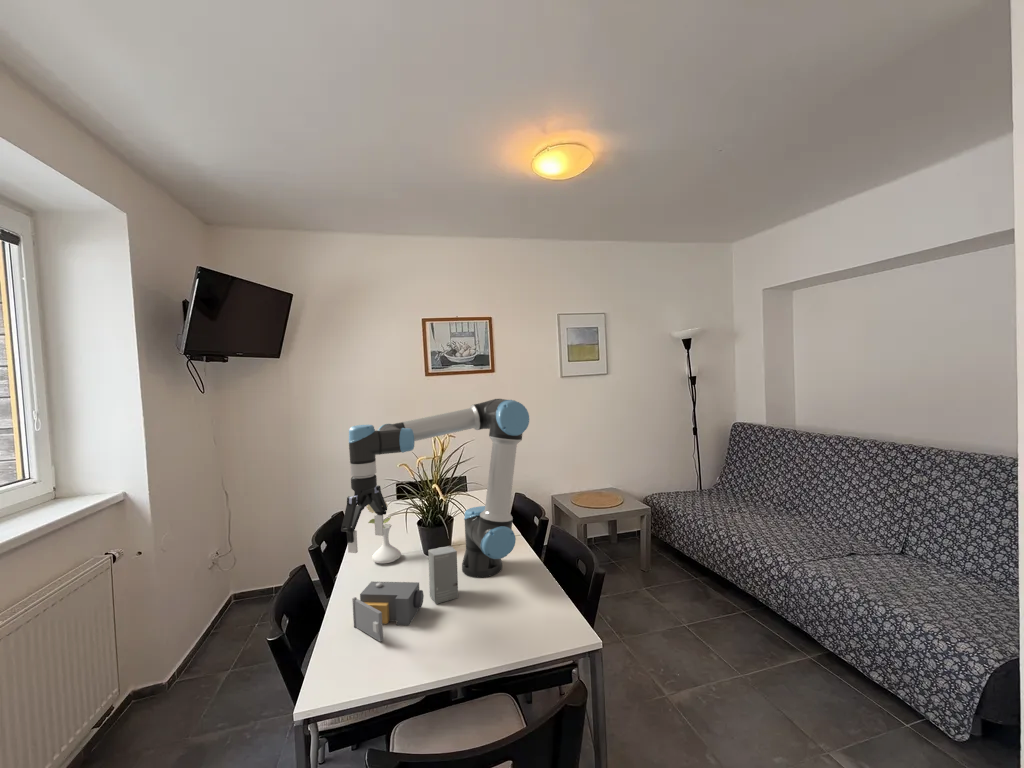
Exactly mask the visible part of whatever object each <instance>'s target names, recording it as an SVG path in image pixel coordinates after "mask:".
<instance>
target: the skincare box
mask: <svg viewBox="0 0 1024 768" xmlns="http://www.w3.org/2000/svg"><path fill="white" fill-rule="evenodd" d="M427 551H428V577H429V579H428V580H429V581H428V582H429V583H428V584H429V585H428V586H429V597H430V598H431V599H432V602H433V603H434V604H435V605H438V604H441V603H444V602H448V601H451V600H455V599H458V598H459V585H458V584H459V581H458V580H459V579H458V578H459V577H458V553H457V552H458V551H457V550H456V549H455V548H454V547H453V546H452V545H447V546H441V547H440V546H439V547H437V548H431V549H428V550H427Z"/></svg>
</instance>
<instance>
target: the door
mask: <svg viewBox="0 0 1024 768" xmlns="http://www.w3.org/2000/svg"><path fill="white" fill-rule="evenodd" d="M355 616H356V627H357V629H358V630H360V631H362V632H363V633H365V634H367V635H368V636H370V637H372V638H373V639H375V640H376V641H378V642H381V641H383V640H384V632H383V630H384V629H383V624H382V612H381V611H379V610H377V609H375V608H373V607H371V606H370V605H368V604H366V603H364V602H362V601H360V599H358V598H357V600H355Z"/></svg>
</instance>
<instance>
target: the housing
mask: <svg viewBox="0 0 1024 768" xmlns="http://www.w3.org/2000/svg"><path fill="white" fill-rule="evenodd" d="M424 596H425V595H424V591H423V590H422V589H420V582H416V581H414V582H413V581H411V582H410V581H406V582H405V581H370V582H369V583H368V585H367V586H366V587H365V588H364V589H363V590H362V591H361V592H360V593H359V600H360V601H362V602H364V603H366V604H368V605H370V606H371V607H373V608H375V609H377V610H379V611H381V612H382V625H388V624H389V622H391V621H392V622H396V626H410V625H411V624H412V623H413V620H414V618H415V617H416V615H417V613H418V612H419V610H420V609H421V608H422V607H423V603H424ZM357 599H358V598H357V597H355V596H353V597H352V598H351V600H352V601H351V602H352V615H353V617H352V618H353V628H355V629H356V628H357V627H356V616H355V600H357ZM357 629H358V628H357Z"/></svg>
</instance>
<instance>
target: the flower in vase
mask: <svg viewBox="0 0 1024 768" xmlns="http://www.w3.org/2000/svg"><path fill="white" fill-rule="evenodd" d="M384 501H385V499H384ZM385 503H386V506H387V508H388V507H389V506H388V503H387V501H385ZM382 507H383V506H382ZM365 508H366V509H367V510H368V512H370V513H371V514H375V512H374V510H373V509H372V508H371V506H370V505H367V506H366V507H365ZM391 517H392V516H389V517H387V518H385V519H383V529H384V535H383V536H382V544H381V546H380V547H379V548H378V549H376V551H375V552H374V553H373V554H372V556H371V561H373V562H374V563H376V564H389V563H393V562H396V561H397V560H399V558H401V556H402V552H401V551H400V550H399V549H398V547H395V546H393V545H392V544H390V541H389V534H390V529H391V528H392V526H393V525H392V524H390V523H388V522H389V521H390V520H391ZM367 523H368V524H374V525H375V520H374V518H372V519H369V521H368V522H367Z"/></svg>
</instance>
